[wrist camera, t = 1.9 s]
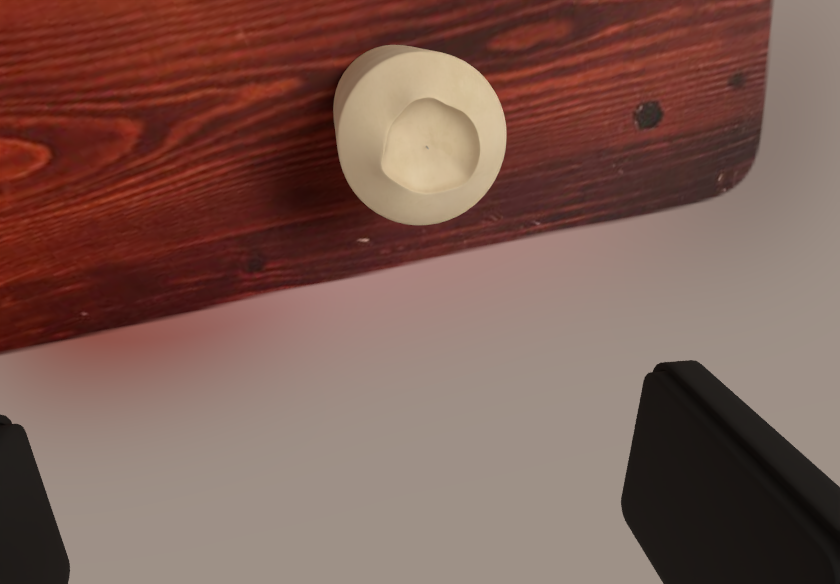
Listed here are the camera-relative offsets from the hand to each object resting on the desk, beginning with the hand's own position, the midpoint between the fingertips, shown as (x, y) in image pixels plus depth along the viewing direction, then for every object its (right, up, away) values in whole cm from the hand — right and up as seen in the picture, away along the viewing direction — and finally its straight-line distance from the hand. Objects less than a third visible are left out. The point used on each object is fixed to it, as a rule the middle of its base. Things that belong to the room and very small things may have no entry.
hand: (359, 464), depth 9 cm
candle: (0, +11, +18) cm, 21 cm away
